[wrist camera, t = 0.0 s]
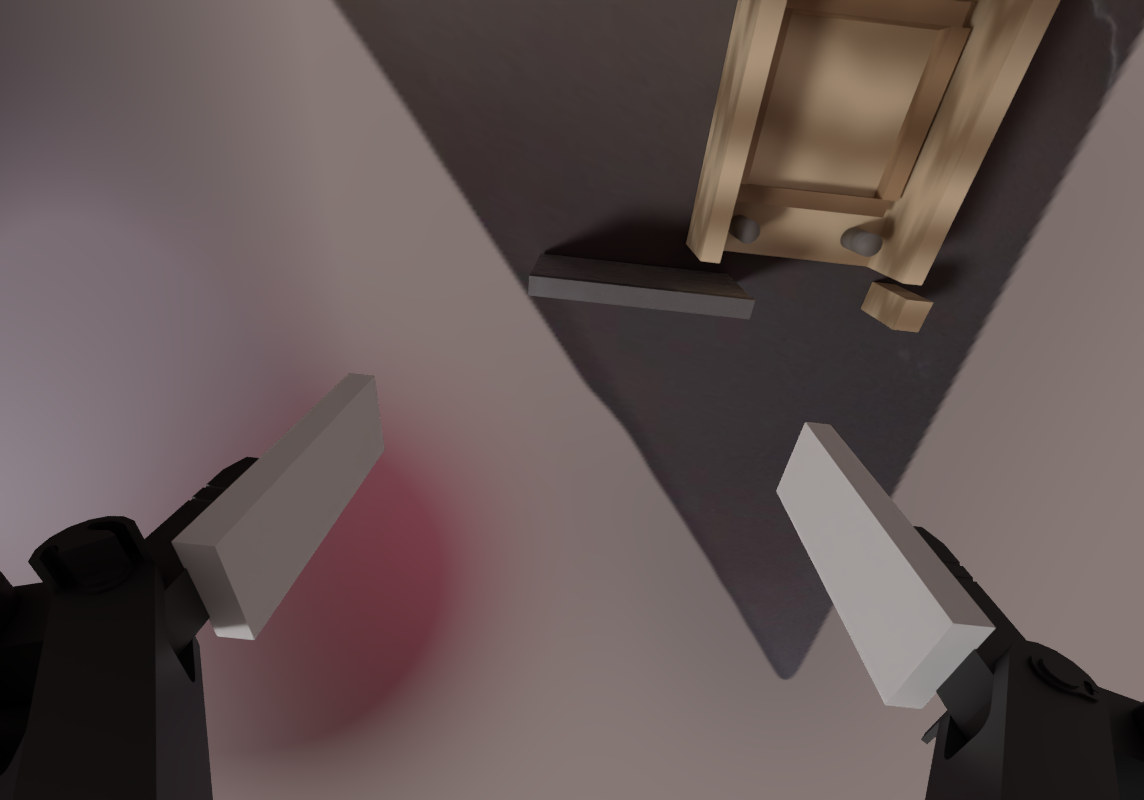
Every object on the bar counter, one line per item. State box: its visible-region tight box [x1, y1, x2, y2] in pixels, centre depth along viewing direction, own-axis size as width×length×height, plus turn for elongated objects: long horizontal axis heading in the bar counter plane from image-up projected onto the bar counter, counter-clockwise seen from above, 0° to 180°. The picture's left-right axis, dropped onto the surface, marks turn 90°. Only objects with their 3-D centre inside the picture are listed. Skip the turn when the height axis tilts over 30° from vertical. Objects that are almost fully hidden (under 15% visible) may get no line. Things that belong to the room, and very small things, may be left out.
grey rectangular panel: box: [528, 254, 755, 319], centre depth 36 cm, size 1×16×8 cm, turn 84°
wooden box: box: [686, 0, 1060, 332], centre depth 32 cm, size 22×18×6 cm
